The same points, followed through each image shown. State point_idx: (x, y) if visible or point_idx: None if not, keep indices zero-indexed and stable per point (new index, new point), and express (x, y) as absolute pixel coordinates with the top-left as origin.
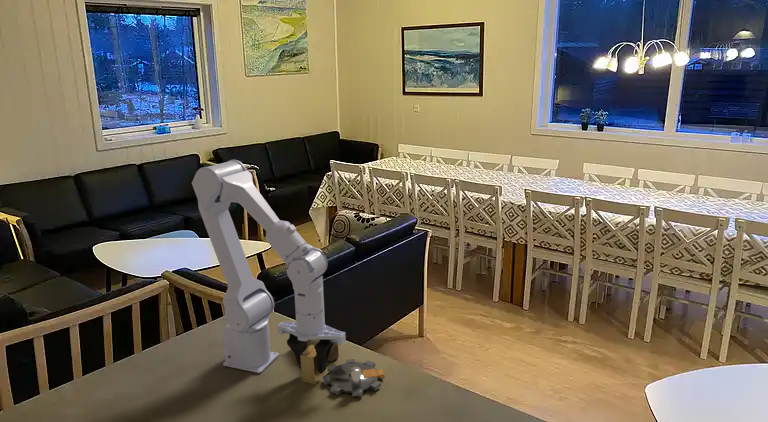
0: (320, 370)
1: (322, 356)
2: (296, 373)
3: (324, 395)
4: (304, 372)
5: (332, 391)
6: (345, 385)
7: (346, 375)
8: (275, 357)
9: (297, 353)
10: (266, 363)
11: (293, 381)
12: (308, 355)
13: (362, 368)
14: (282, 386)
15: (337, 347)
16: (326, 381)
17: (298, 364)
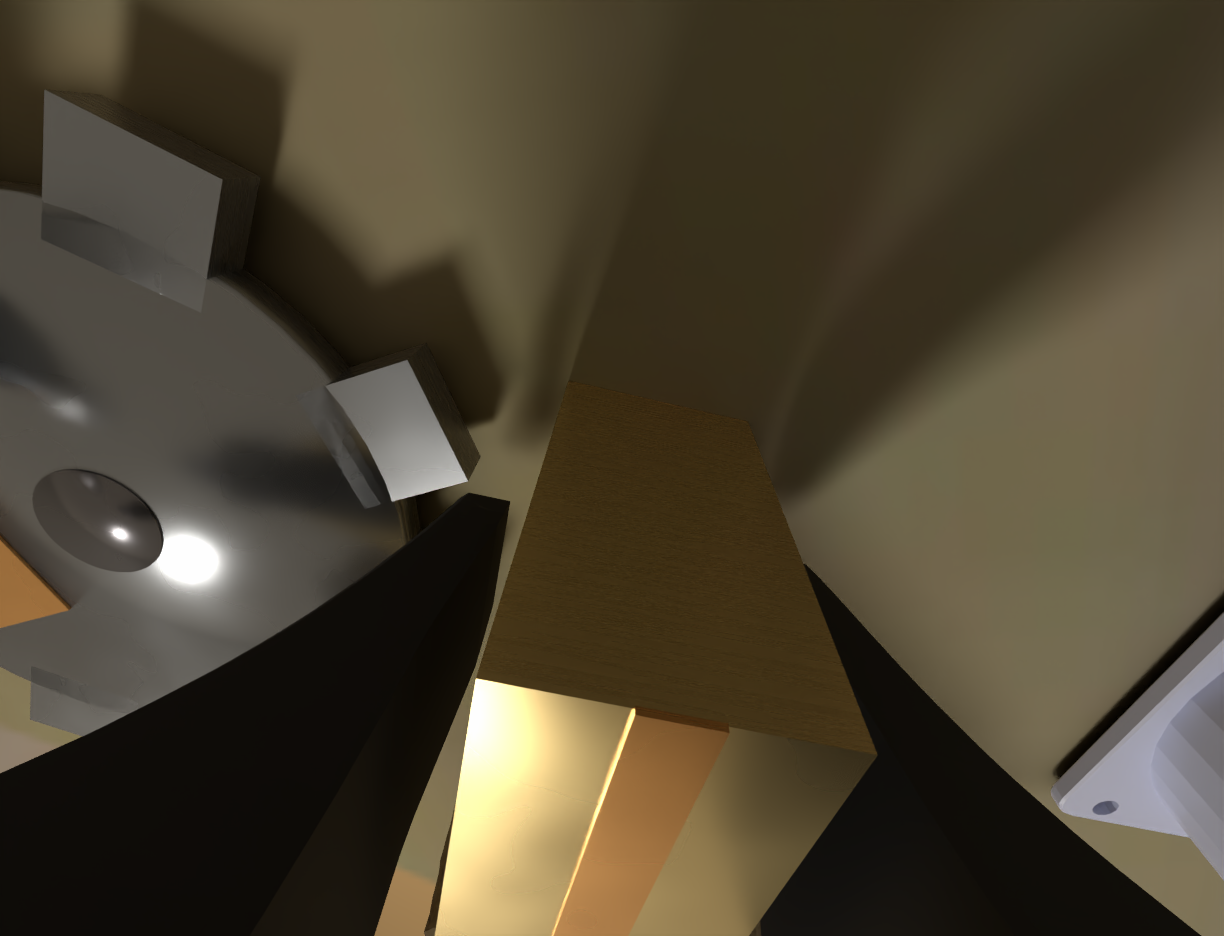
0: (462, 511)
1: (157, 715)
2: (837, 554)
3: (342, 115)
4: (721, 478)
5: (205, 154)
6: (47, 285)
7: (178, 509)
8: (1098, 760)
9: (958, 807)
10: (1221, 674)
11: (856, 406)
12: (647, 752)
13: (91, 639)
14: (1006, 279)
15: (436, 896)
16: (373, 365)
17: (847, 610)
